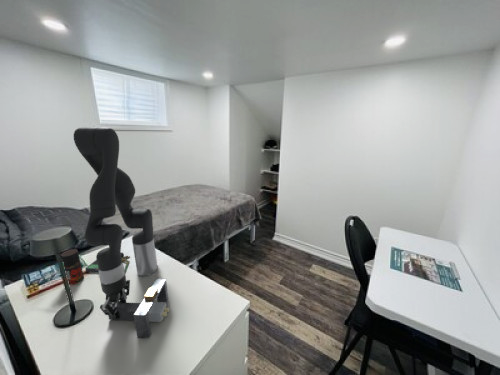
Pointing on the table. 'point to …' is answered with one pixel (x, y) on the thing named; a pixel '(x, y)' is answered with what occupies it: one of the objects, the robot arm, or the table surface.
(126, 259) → the pliers
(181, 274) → the table surface
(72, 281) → the deodorant
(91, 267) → the disk drive
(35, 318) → the table surface
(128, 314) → the grey two-tone block
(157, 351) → the table surface
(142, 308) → the u-shaped bracket
